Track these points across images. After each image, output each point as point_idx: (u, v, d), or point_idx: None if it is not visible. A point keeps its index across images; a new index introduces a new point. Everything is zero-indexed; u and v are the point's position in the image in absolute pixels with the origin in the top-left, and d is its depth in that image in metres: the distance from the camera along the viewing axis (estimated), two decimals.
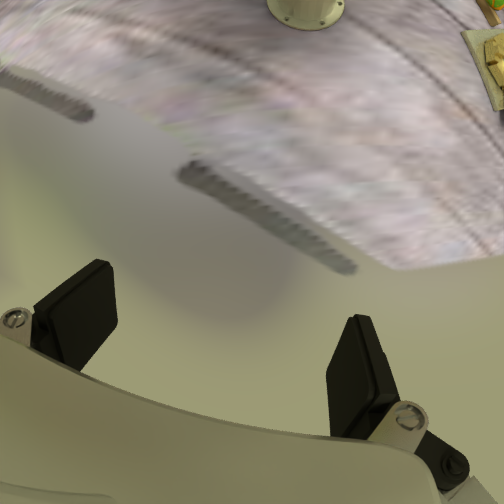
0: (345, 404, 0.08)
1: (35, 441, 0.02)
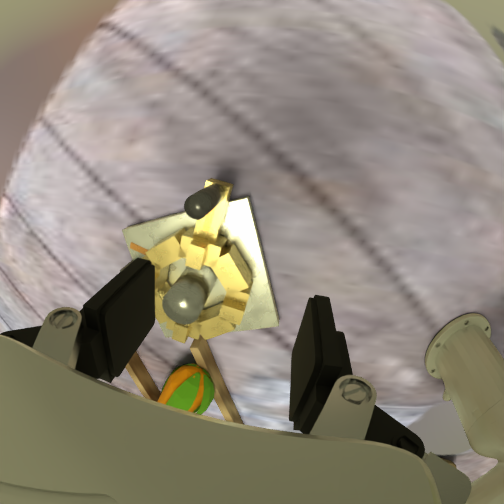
0: (300, 379, 0.08)
1: (35, 441, 0.02)
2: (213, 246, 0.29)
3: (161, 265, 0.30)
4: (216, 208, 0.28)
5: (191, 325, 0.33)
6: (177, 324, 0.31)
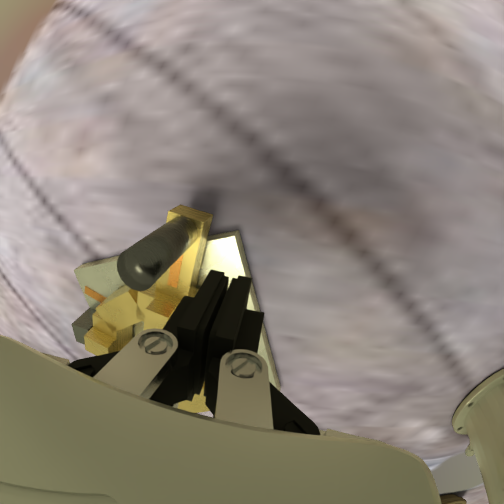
0: None
1: (35, 441, 0.02)
2: None
3: (117, 327, 0.20)
4: (185, 254, 0.18)
5: None
6: None
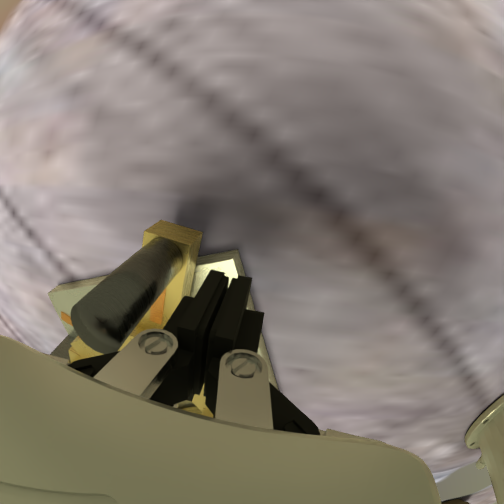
0: None
1: (35, 441, 0.02)
2: None
3: None
4: (169, 285, 0.14)
5: None
6: None
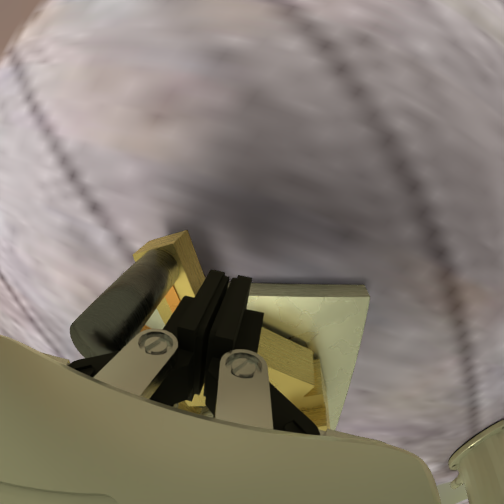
0: None
1: (35, 441, 0.02)
2: None
3: None
4: (179, 291, 0.14)
5: None
6: None
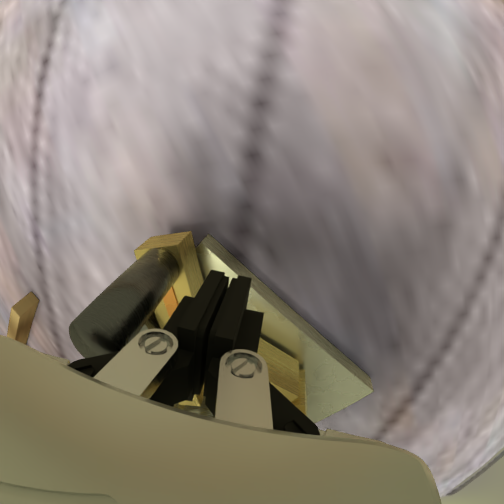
0: None
1: (35, 441, 0.02)
2: None
3: None
4: (177, 292, 0.14)
5: None
6: None
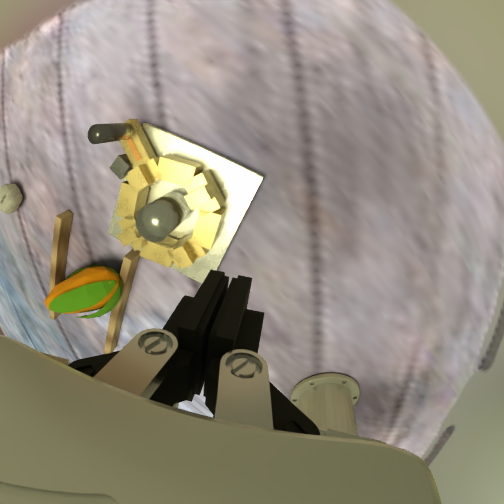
0: None
1: (35, 441, 0.02)
2: (147, 162, 0.29)
3: (131, 213, 0.32)
4: (133, 139, 0.29)
5: (189, 245, 0.32)
6: (173, 250, 0.31)
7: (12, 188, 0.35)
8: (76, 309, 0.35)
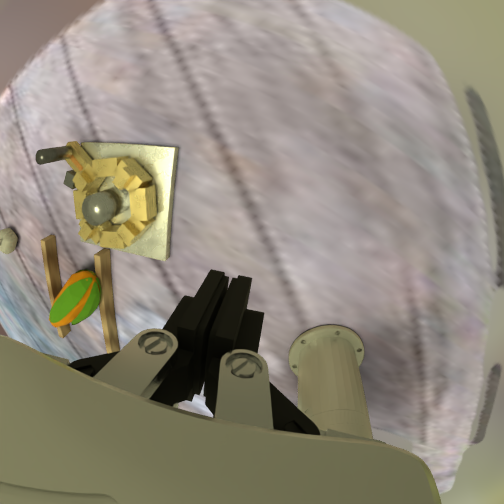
0: None
1: (35, 441, 0.02)
2: (85, 167, 0.33)
3: None
4: (74, 155, 0.34)
5: (131, 222, 0.35)
6: (118, 229, 0.35)
7: (6, 231, 0.42)
8: (67, 312, 0.40)
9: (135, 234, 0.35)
